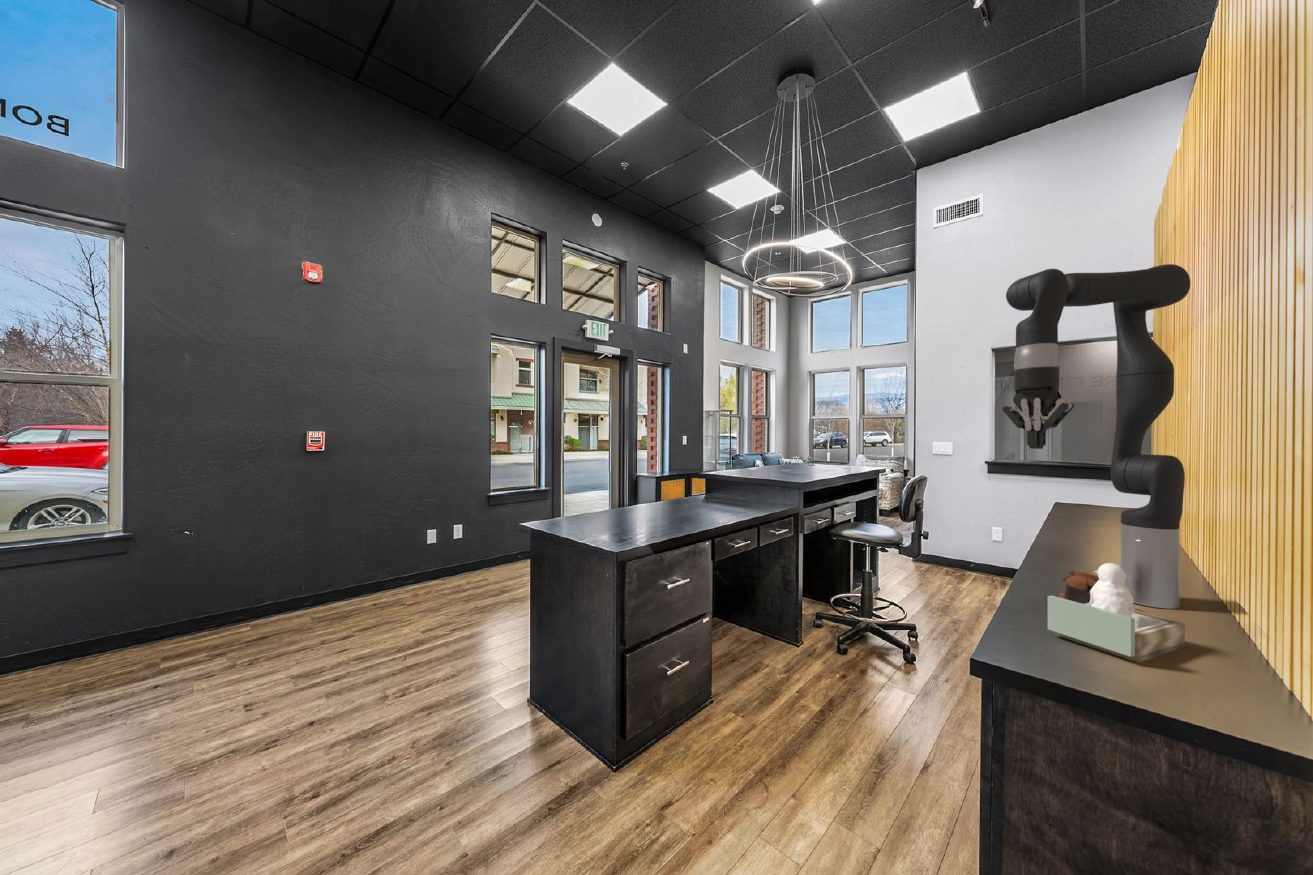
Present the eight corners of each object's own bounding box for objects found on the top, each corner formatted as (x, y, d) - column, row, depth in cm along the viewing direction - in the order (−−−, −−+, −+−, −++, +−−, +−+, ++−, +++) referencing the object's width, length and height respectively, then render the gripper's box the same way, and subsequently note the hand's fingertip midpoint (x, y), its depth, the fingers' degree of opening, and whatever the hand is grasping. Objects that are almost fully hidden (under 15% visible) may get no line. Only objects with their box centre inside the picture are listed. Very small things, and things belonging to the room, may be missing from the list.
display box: (1138, 662, 78) (1138, 635, 78) (1053, 634, 90) (1053, 610, 90) (1184, 647, 84) (1184, 622, 84) (1099, 622, 95) (1099, 600, 95)
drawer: (1130, 656, 78) (1130, 618, 78) (1047, 629, 89) (1047, 596, 89) (1176, 642, 83) (1176, 607, 83) (1092, 618, 94) (1092, 587, 94)
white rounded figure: (1085, 631, 86) (1085, 565, 86) (1089, 619, 92) (1089, 557, 92) (1134, 642, 81) (1135, 572, 81) (1136, 628, 87) (1136, 563, 87)
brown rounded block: (1044, 599, 109) (1055, 566, 111) (1085, 619, 108) (1096, 586, 109) (1087, 606, 98) (1100, 569, 99) (1134, 629, 96) (1146, 592, 98)
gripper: (1084, 364, 96) (1084, 449, 96) (1014, 372, 109) (1014, 447, 109) (1061, 361, 93) (1061, 449, 93) (992, 370, 106) (992, 448, 106)
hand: (1036, 448), depth 101 cm, fingers closed
